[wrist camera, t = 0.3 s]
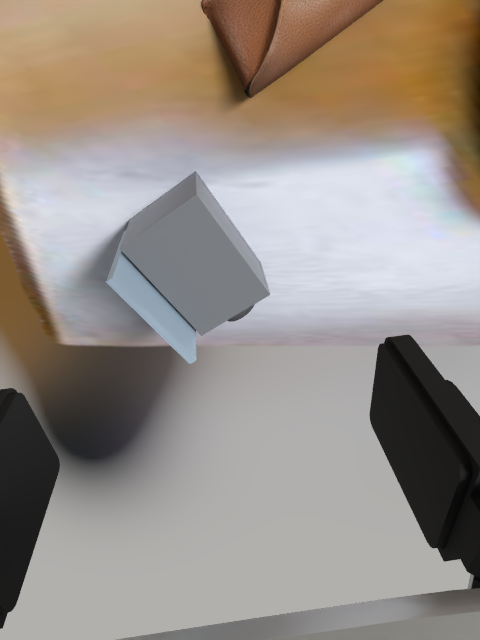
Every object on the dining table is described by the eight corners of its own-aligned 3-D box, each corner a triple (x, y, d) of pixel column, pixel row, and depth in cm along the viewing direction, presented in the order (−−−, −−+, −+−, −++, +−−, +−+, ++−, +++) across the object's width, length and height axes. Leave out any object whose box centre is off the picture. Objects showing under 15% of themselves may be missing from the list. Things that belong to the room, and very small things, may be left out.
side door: (123, 232, 44) (105, 282, 35) (129, 227, 44) (112, 277, 35) (190, 305, 50) (189, 364, 41) (195, 302, 50) (196, 360, 41)
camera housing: (129, 219, 44) (119, 248, 38) (195, 171, 42) (196, 194, 36) (207, 308, 52) (209, 344, 46) (267, 271, 49) (277, 304, 43)
